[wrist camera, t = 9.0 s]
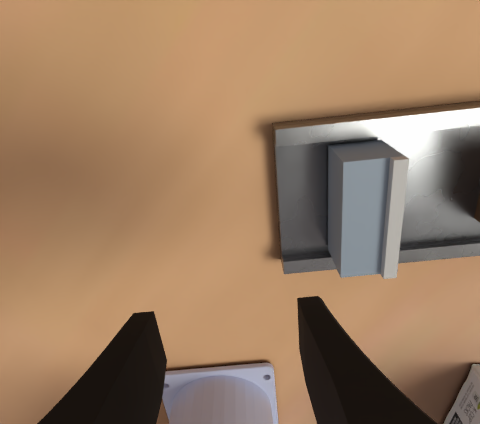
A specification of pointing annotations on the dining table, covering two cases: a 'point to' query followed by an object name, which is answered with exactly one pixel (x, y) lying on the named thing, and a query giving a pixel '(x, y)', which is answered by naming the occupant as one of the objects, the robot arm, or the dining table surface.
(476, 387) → the tea box
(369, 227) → the block
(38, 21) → the dining table surface
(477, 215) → the block
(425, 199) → the vise
